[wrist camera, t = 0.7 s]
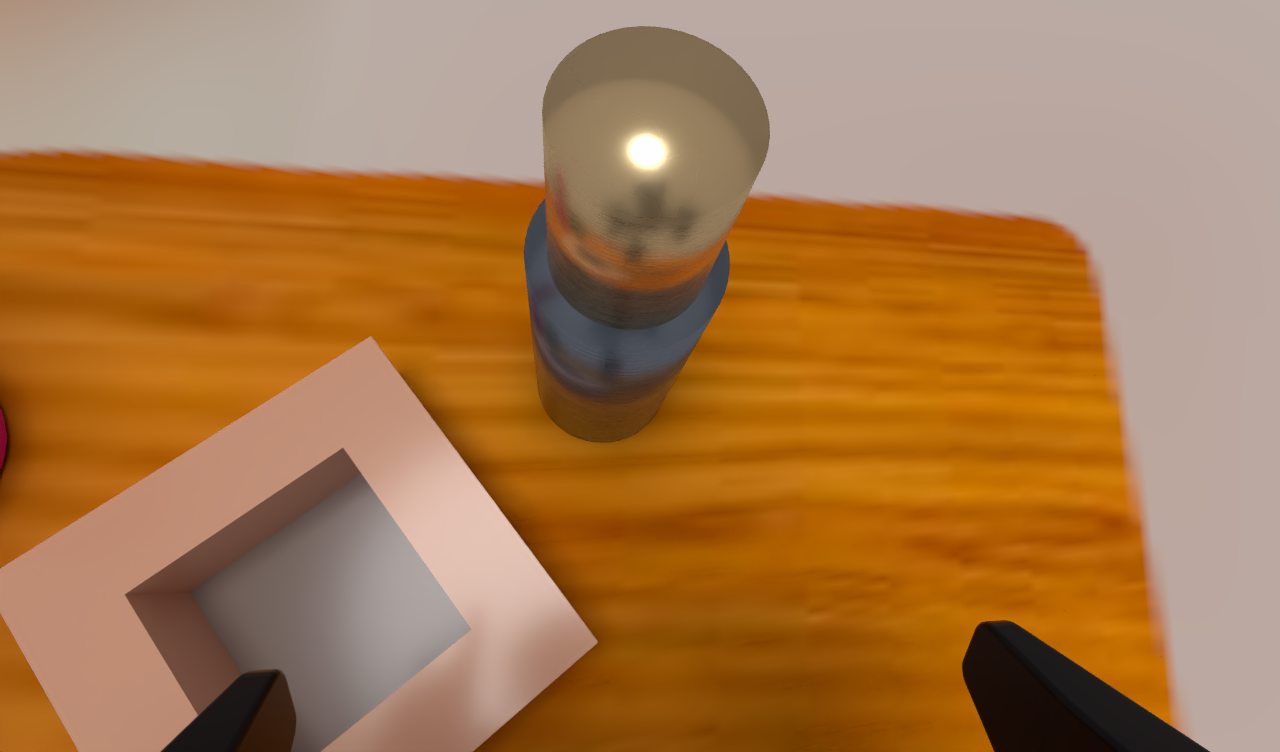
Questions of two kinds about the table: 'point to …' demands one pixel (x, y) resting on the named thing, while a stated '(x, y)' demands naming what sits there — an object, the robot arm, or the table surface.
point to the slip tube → (635, 219)
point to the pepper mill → (2, 438)
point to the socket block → (299, 583)
